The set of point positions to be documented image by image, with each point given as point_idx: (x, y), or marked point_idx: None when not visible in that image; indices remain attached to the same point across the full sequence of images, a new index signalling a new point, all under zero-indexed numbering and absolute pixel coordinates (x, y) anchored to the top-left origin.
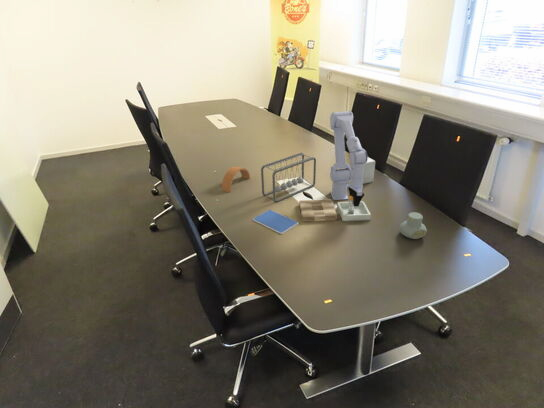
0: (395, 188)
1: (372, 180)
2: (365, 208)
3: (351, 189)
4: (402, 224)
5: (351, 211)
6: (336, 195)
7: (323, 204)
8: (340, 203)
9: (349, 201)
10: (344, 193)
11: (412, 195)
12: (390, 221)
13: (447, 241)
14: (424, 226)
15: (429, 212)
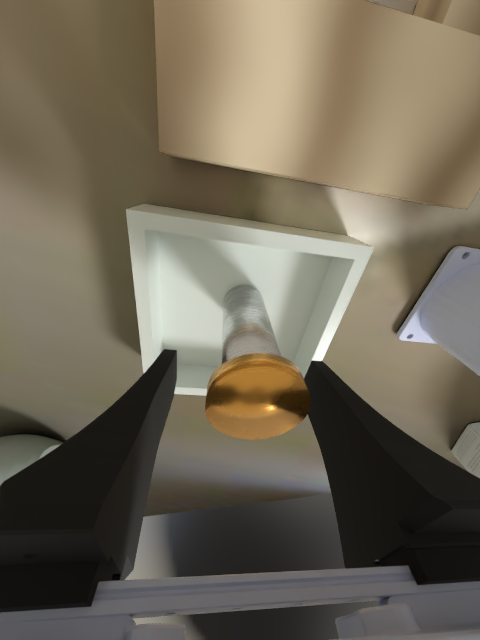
0: None
1: (456, 455)
2: None
3: (361, 460)
4: (3, 478)
5: (224, 306)
6: (478, 281)
7: (436, 61)
8: (348, 266)
9: (251, 340)
10: (449, 339)
11: (298, 496)
12: None
13: None
14: None
15: (192, 501)
